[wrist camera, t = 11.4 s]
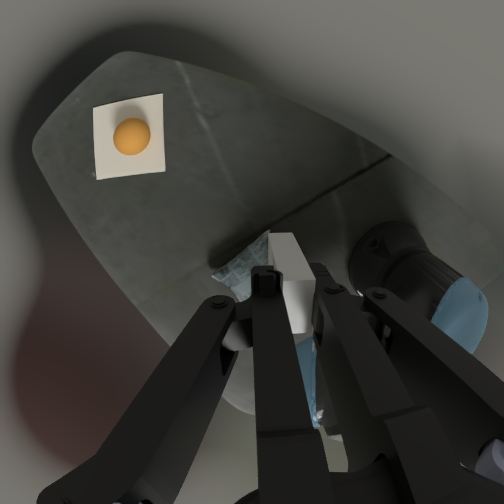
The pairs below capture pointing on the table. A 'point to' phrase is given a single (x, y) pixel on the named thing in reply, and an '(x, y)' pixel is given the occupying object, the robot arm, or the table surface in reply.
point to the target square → (104, 127)
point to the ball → (131, 136)
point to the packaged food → (244, 267)
